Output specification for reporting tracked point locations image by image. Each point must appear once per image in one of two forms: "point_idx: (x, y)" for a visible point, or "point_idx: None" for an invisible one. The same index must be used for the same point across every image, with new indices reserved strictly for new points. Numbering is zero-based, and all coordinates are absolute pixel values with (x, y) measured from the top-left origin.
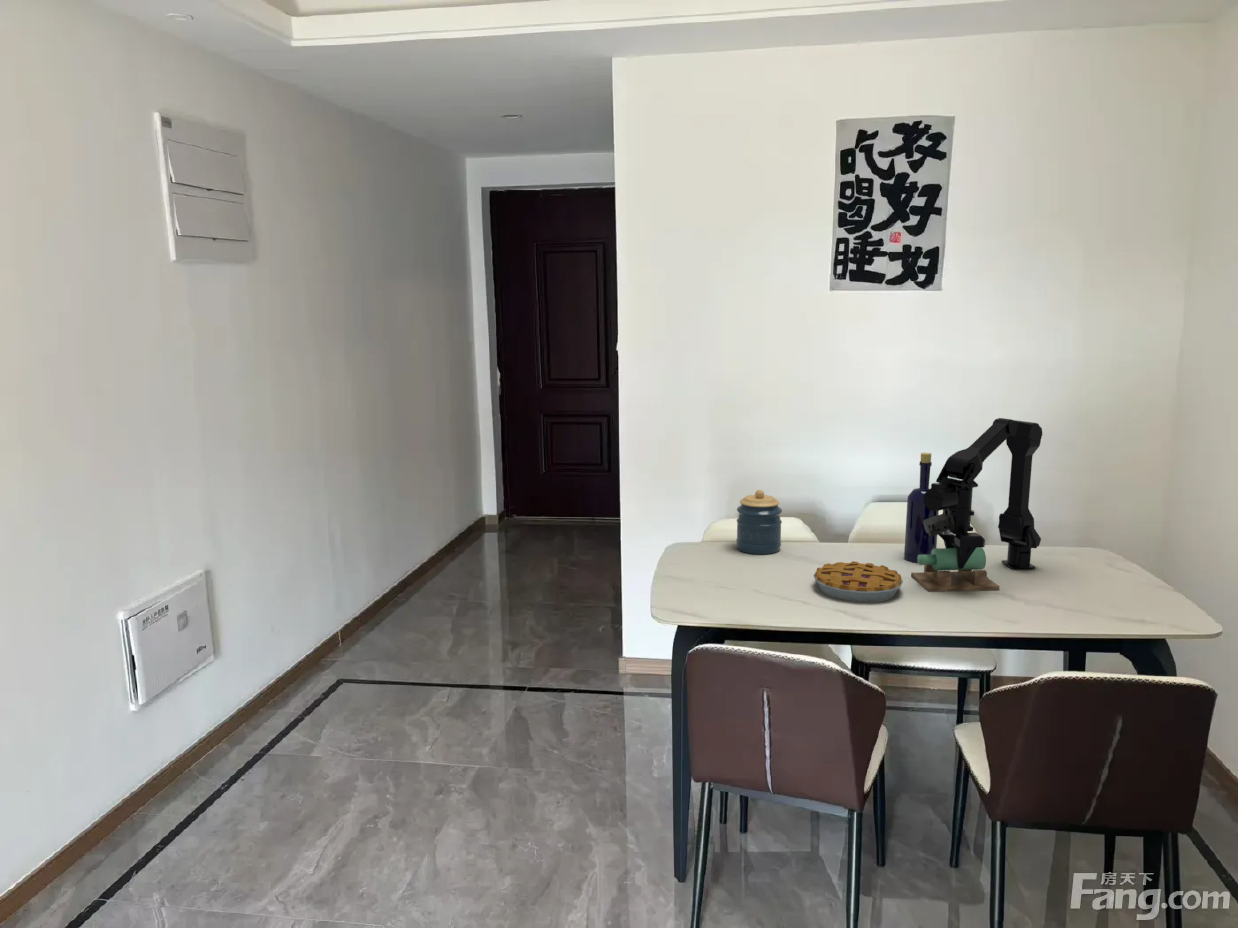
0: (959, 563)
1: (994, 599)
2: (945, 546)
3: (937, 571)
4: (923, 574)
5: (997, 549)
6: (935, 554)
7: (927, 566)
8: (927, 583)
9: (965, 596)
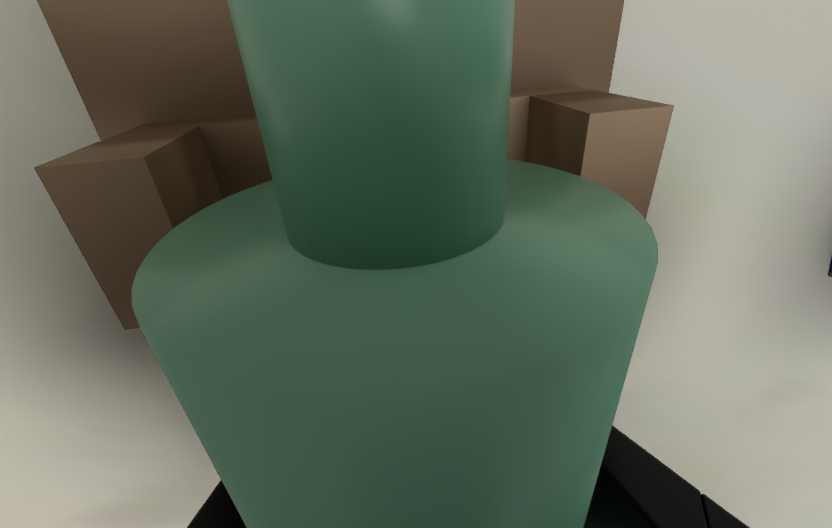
0: (216, 493)
1: (58, 446)
2: (723, 525)
3: (139, 155)
4: (549, 71)
5: (819, 520)
6: (386, 277)
7: (559, 117)
8: (218, 7)
9: (44, 301)
